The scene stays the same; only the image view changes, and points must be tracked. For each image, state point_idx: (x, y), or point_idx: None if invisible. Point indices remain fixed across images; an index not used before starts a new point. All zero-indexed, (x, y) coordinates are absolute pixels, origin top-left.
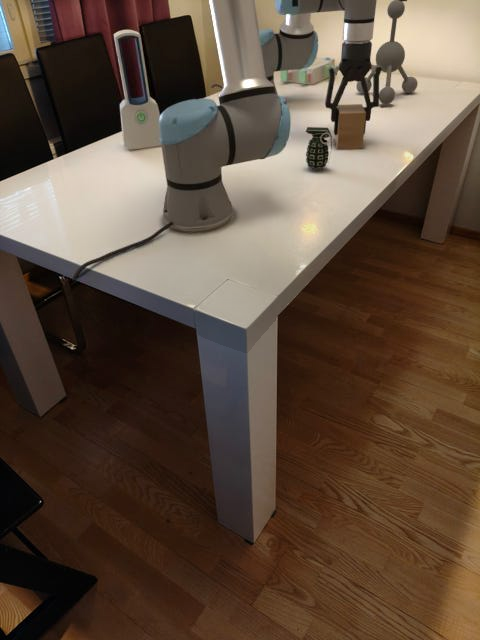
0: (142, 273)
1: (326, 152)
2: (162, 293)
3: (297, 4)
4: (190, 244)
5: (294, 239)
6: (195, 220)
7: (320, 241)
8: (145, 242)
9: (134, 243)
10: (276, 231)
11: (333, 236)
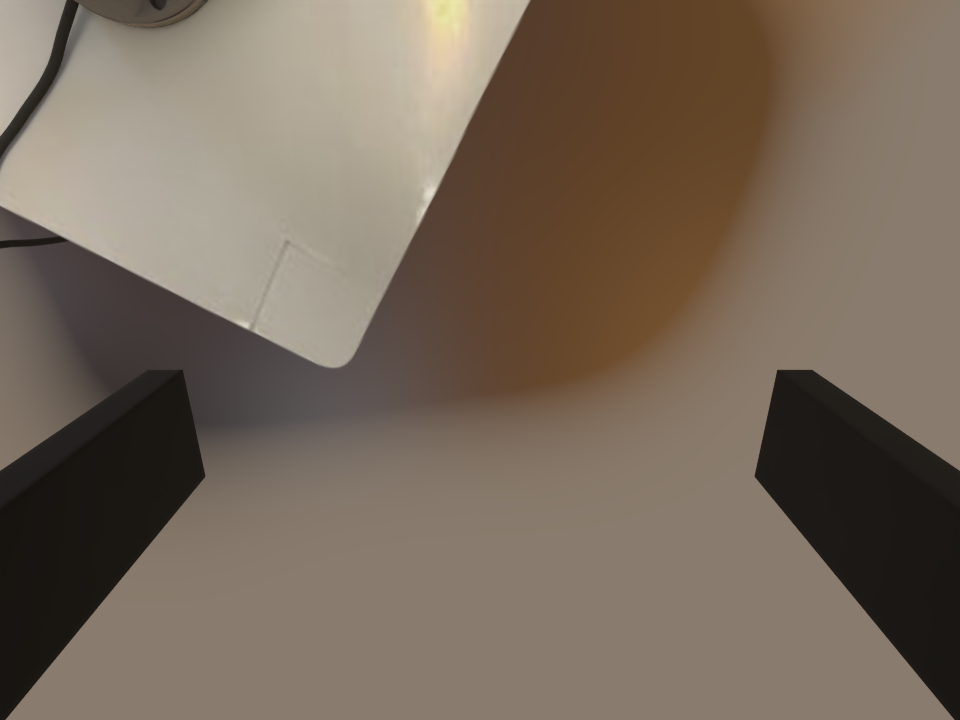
0: (108, 220)
1: None
2: (178, 289)
3: (197, 479)
4: (163, 89)
5: (409, 65)
6: (137, 13)
7: (471, 77)
8: (49, 85)
9: (27, 103)
10: (362, 17)
11: (503, 50)
